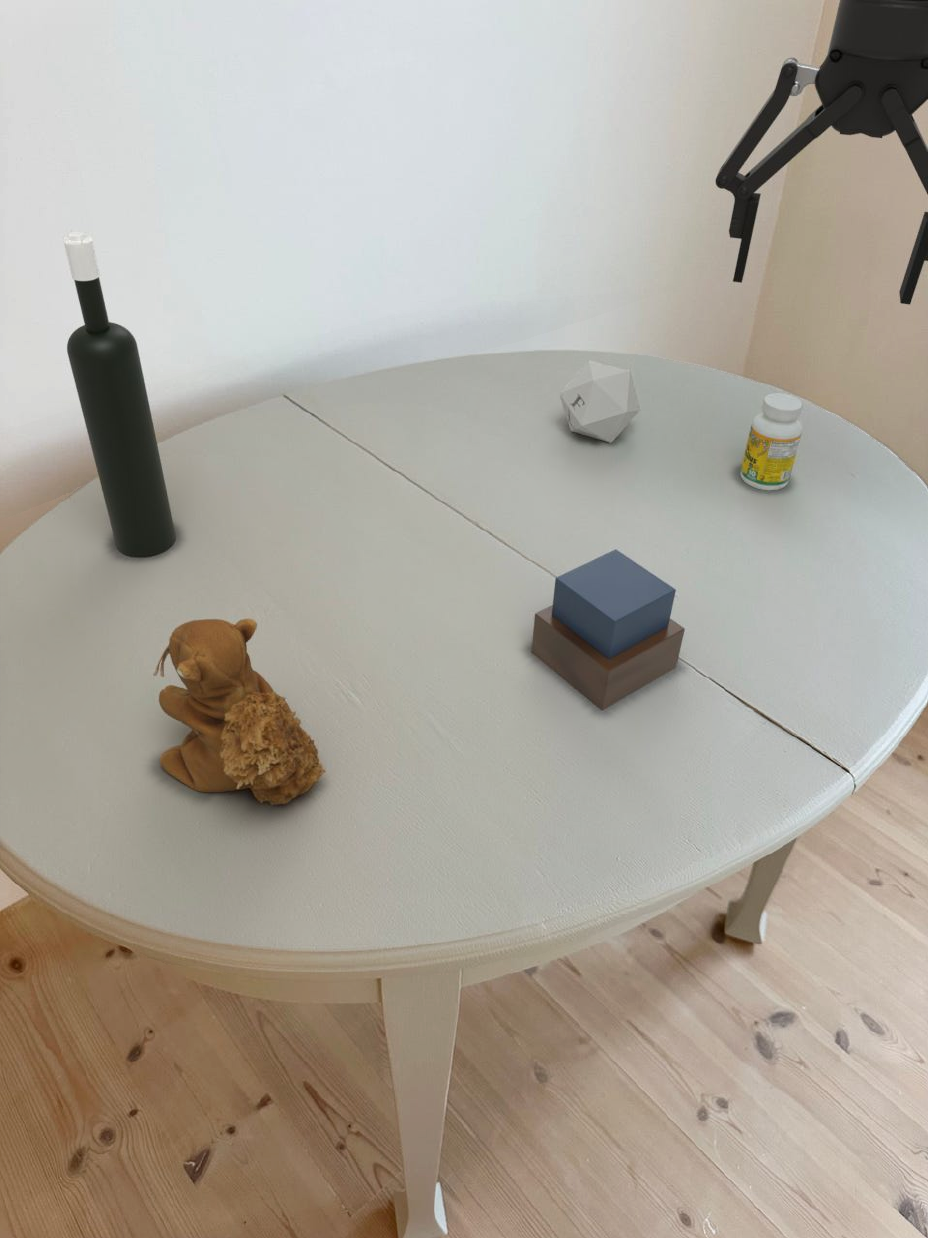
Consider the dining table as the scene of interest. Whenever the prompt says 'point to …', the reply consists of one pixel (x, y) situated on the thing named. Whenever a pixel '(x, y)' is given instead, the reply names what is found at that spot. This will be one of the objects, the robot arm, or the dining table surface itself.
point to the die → (600, 401)
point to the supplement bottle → (773, 443)
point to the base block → (604, 659)
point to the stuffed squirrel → (232, 718)
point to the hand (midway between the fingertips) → (819, 287)
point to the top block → (612, 603)
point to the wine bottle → (117, 415)
